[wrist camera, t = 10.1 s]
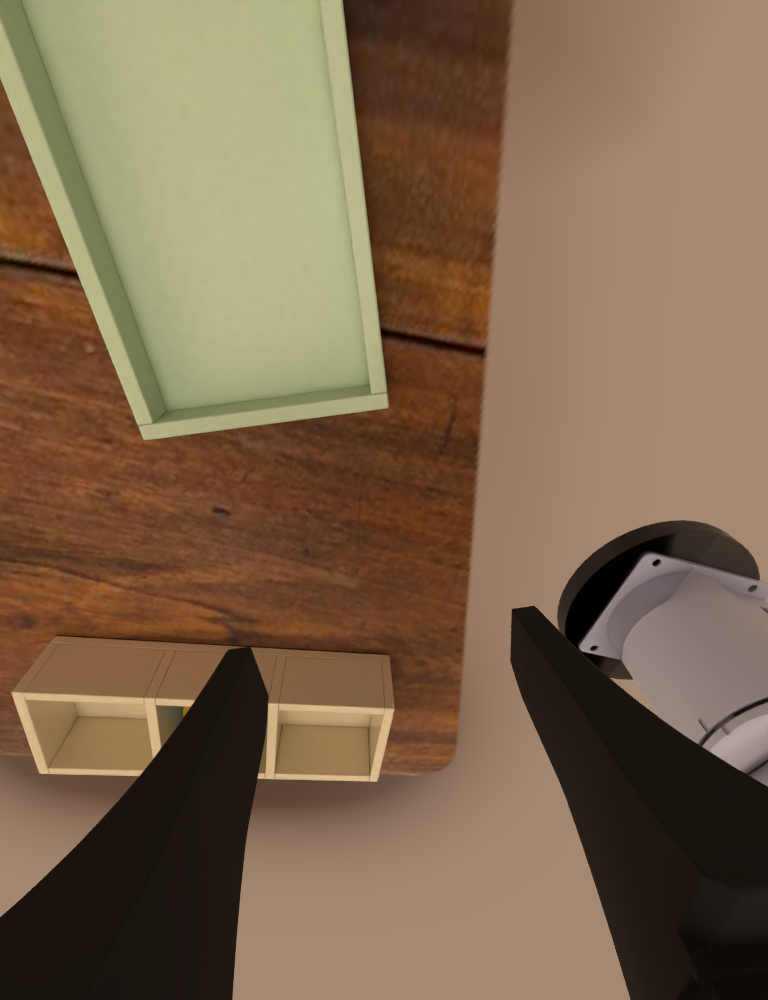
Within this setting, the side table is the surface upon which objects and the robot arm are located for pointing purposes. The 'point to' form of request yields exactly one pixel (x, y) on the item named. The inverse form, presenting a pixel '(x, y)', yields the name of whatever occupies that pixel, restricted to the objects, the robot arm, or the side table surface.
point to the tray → (207, 200)
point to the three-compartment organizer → (177, 683)
